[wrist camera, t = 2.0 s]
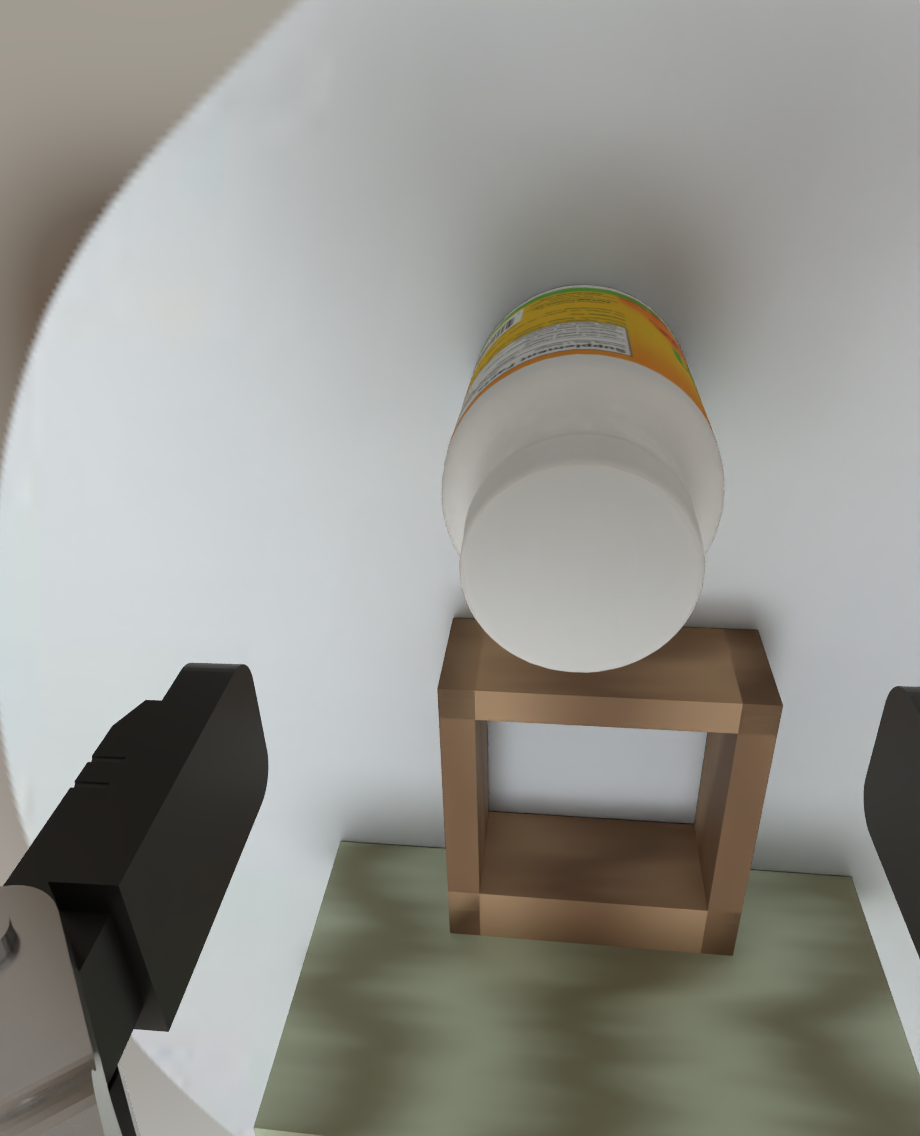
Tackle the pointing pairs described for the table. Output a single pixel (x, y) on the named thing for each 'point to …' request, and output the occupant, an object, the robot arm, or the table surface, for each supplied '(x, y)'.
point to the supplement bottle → (582, 482)
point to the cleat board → (593, 943)
